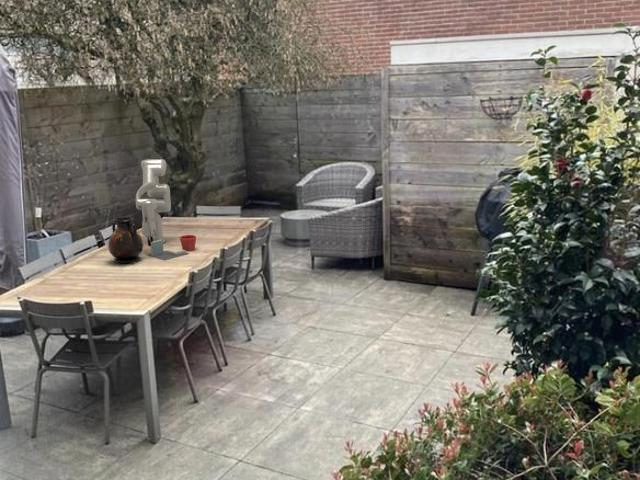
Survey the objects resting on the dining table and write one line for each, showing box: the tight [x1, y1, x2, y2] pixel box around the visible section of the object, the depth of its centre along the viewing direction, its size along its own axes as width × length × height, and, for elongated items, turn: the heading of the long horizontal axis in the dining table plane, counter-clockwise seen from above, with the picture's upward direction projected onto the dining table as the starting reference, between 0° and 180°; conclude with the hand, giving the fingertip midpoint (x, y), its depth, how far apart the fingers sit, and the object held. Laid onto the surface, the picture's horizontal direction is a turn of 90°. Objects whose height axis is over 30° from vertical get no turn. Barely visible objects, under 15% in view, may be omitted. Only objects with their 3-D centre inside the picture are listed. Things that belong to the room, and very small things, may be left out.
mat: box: [146, 250, 190, 261], centre depth 400 cm, size 20×21×1 cm
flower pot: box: [179, 234, 197, 252], centre depth 412 cm, size 11×11×10 cm
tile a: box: [166, 247, 186, 256], centre depth 403 cm, size 2×8×10 cm
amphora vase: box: [107, 216, 144, 265], centre depth 384 cm, size 22×22×28 cm
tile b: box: [150, 240, 164, 256], centre depth 398 cm, size 2×8×10 cm, turn 141°
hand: (150, 245), depth 402 cm, fingers closed
